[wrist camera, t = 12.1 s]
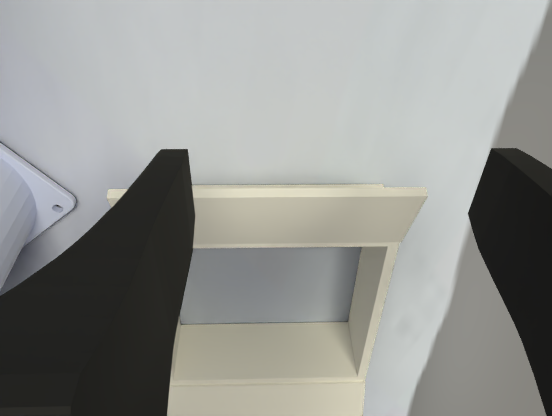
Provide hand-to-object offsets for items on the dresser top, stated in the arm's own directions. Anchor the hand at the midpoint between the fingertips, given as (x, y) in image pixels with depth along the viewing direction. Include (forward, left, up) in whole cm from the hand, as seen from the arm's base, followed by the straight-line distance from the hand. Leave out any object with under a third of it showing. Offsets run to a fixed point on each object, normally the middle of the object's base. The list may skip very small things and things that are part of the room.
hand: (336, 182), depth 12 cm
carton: (-10, -10, -10) cm, 18 cm away
